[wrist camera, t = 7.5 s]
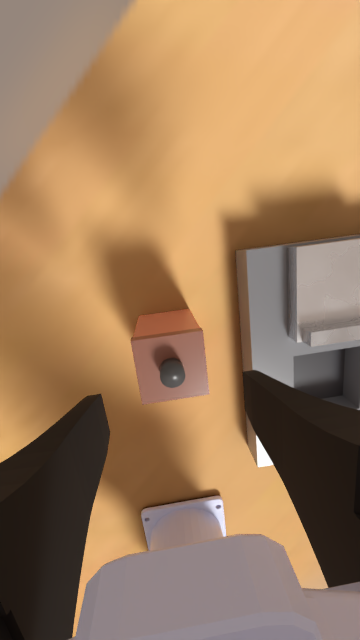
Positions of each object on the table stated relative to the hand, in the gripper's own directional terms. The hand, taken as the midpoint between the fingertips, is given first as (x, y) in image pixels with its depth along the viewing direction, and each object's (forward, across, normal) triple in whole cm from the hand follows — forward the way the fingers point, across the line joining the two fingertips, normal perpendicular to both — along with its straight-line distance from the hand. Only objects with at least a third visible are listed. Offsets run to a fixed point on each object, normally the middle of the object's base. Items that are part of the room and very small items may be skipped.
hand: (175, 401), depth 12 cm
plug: (+10, 0, 0) cm, 10 cm away
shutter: (+7, -12, -3) cm, 14 cm away
